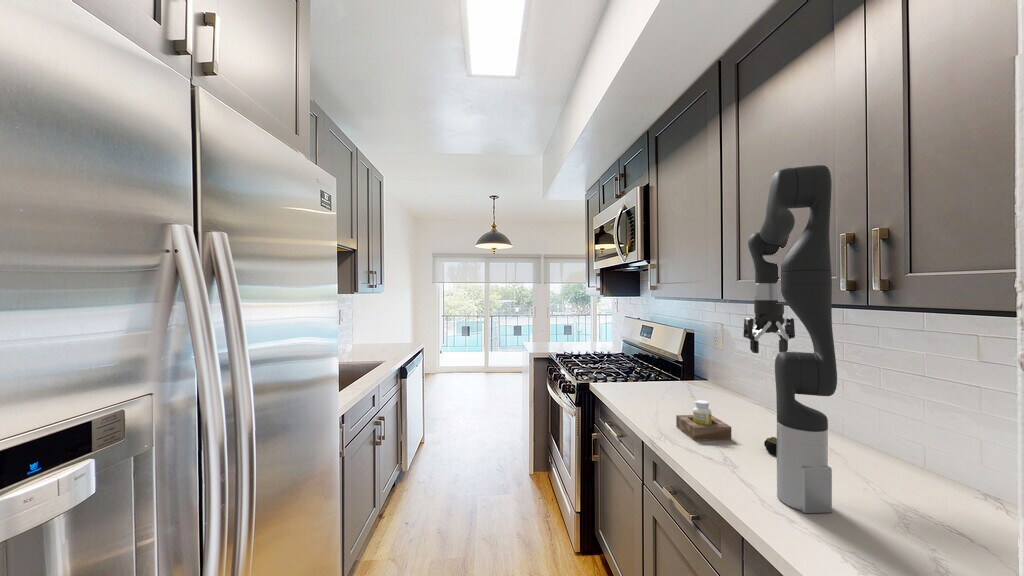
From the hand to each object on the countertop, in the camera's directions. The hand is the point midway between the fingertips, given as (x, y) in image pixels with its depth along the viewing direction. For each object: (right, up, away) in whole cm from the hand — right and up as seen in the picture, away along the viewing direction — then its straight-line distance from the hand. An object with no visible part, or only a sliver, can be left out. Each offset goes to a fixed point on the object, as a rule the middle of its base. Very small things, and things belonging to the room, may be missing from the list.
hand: (769, 352), depth 119 cm
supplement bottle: (-15, -28, +11) cm, 33 cm away
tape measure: (0, -29, -4) cm, 29 cm away
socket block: (-14, -28, +11) cm, 34 cm away
